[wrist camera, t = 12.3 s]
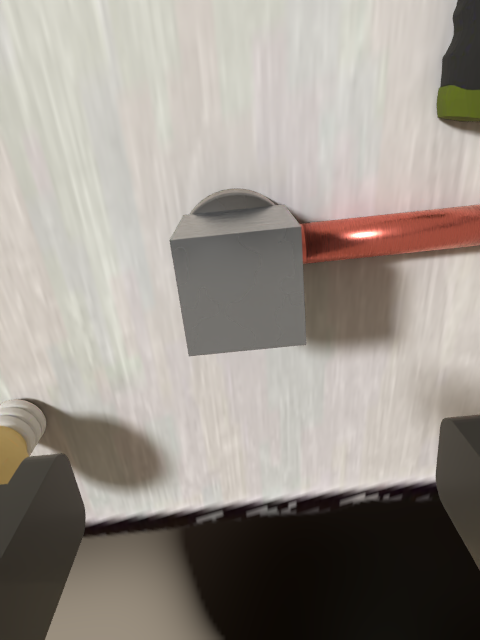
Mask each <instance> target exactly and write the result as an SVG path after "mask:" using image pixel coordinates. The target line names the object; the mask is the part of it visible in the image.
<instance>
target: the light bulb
mask: <svg viewBox="0 0 480 640" xmlns="http://www.w3.org/2000/svg"><path fill="white" fill-rule="evenodd" d="M45 429H46V419H45V416H44V414H43V413H42V411H41V410H40V409H39V408H38V407H37V406H36V405H34V404H32V403H30V402H28V401H25V400H19V399H14V400H8V401H5V402H3V403H1V404H0V485H1V484H8V482H9V481H10V479H11V478H12V476H13V474H14V473H15V471H16V470H17V468H18V467H19V465H20V464H21V462H22V461H23V460H24V459H25V458H27V457H29V456H30V455H31V453H32V451H33V449H34V448H35V446H36V445H37V443H38V442H39V440H40V438H41V437H42V435H43V434H44V432H45Z"/></svg>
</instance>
